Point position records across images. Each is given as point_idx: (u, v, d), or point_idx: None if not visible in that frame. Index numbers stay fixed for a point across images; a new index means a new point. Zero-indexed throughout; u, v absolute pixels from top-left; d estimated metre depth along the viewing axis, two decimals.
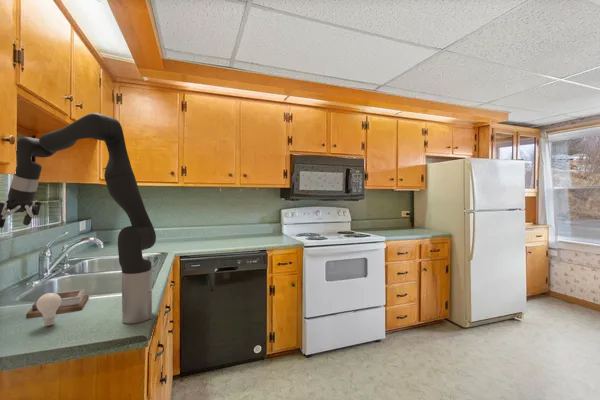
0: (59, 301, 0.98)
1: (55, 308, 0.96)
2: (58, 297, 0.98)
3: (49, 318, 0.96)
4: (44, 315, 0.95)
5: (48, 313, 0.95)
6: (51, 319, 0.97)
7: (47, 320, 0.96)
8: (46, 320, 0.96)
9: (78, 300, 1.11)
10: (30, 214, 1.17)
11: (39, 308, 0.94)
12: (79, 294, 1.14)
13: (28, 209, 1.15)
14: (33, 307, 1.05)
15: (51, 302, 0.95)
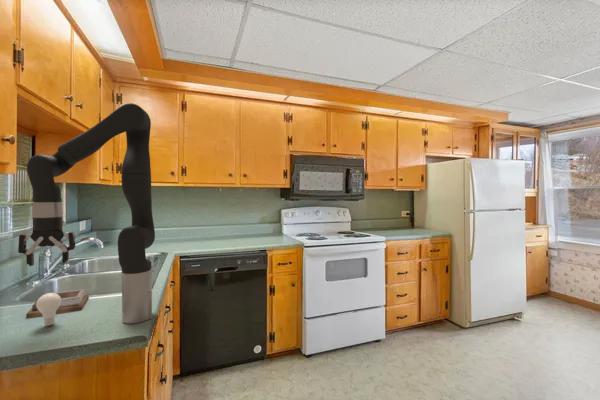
0: (59, 301, 0.98)
1: (55, 308, 0.96)
2: (58, 297, 0.98)
3: (49, 318, 0.96)
4: (44, 315, 0.95)
5: (48, 313, 0.95)
6: (51, 319, 0.97)
7: (47, 320, 0.96)
8: (46, 320, 0.96)
9: (78, 300, 1.11)
10: (62, 248, 0.97)
11: (39, 308, 0.94)
12: (79, 294, 1.14)
13: (56, 242, 0.96)
14: (33, 307, 1.05)
15: (51, 302, 0.95)
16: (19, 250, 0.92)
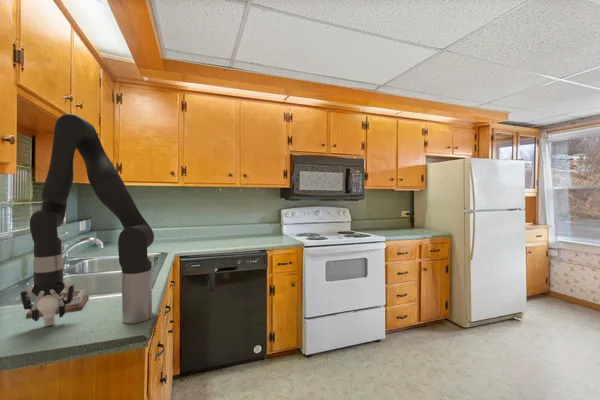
0: None
1: (55, 308, 0.96)
2: None
3: (49, 318, 0.96)
4: (44, 315, 0.95)
5: (48, 313, 0.95)
6: (51, 319, 0.97)
7: (47, 320, 0.96)
8: (46, 320, 0.96)
9: (78, 300, 1.11)
10: (59, 303, 0.97)
11: (39, 308, 0.94)
12: (79, 294, 1.14)
13: (55, 295, 0.96)
14: None
15: (51, 302, 0.95)
16: (24, 307, 0.93)
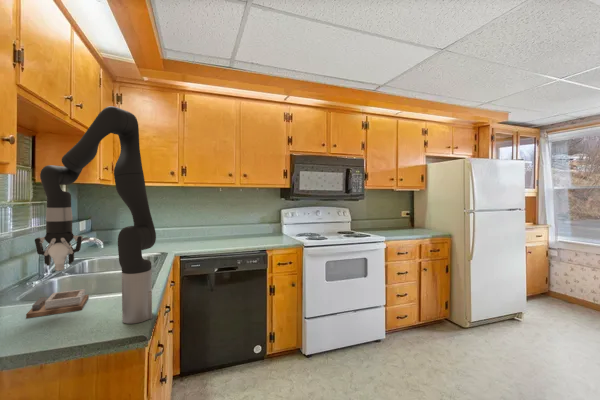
0: None
1: (65, 255, 1.08)
2: None
3: (60, 263, 1.07)
4: (55, 260, 1.06)
5: (59, 259, 1.07)
6: (61, 265, 1.08)
7: (58, 265, 1.07)
8: (57, 265, 1.07)
9: (78, 300, 1.11)
10: (69, 250, 1.09)
11: (51, 253, 1.05)
12: (79, 294, 1.14)
13: (65, 243, 1.08)
14: (33, 307, 1.05)
15: (62, 249, 1.06)
16: (38, 252, 1.04)
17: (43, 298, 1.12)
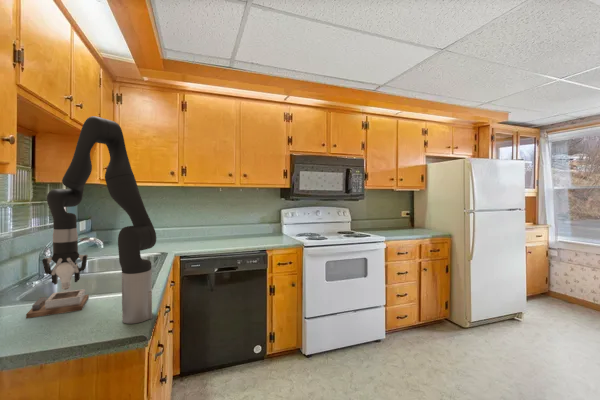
0: None
1: (71, 274, 1.13)
2: None
3: (66, 282, 1.12)
4: (62, 279, 1.11)
5: (65, 278, 1.12)
6: (67, 283, 1.13)
7: (64, 284, 1.12)
8: (63, 284, 1.12)
9: (78, 300, 1.11)
10: None
11: (58, 273, 1.10)
12: (79, 294, 1.14)
13: (71, 263, 1.13)
14: (33, 307, 1.05)
15: (68, 268, 1.11)
16: (45, 271, 1.09)
17: (43, 298, 1.12)
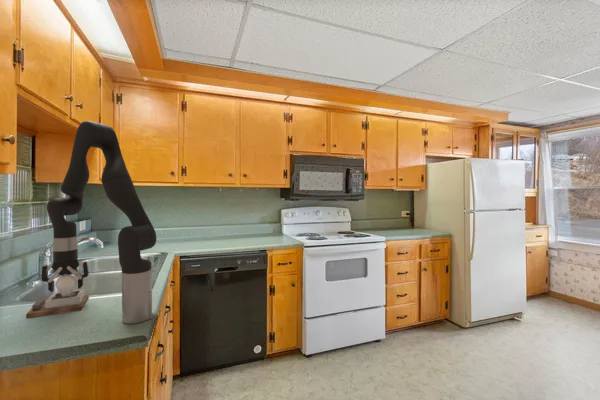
0: (75, 281, 1.14)
1: (71, 287, 1.12)
2: (74, 278, 1.14)
3: (67, 296, 1.12)
4: (62, 293, 1.11)
5: (66, 292, 1.11)
6: (68, 297, 1.13)
7: None
8: None
9: (78, 300, 1.11)
10: (78, 276, 1.14)
11: (58, 287, 1.10)
12: (79, 294, 1.14)
13: (72, 271, 1.13)
14: (33, 307, 1.05)
15: (69, 282, 1.11)
16: (42, 279, 1.09)
17: (43, 298, 1.12)
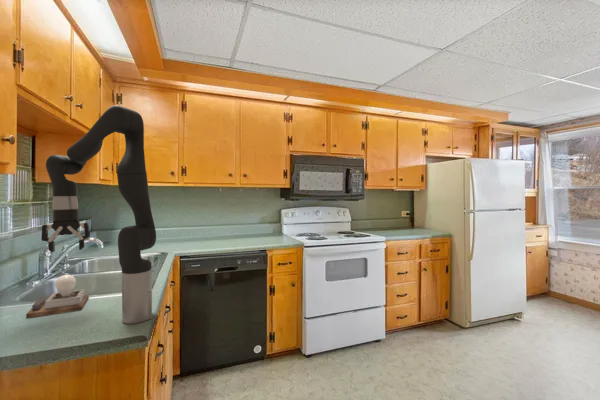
0: (74, 281, 1.14)
1: (71, 287, 1.13)
2: (73, 278, 1.14)
3: (66, 296, 1.12)
4: (62, 293, 1.11)
5: (65, 291, 1.12)
6: (68, 297, 1.13)
7: None
8: None
9: (78, 300, 1.11)
10: (79, 237, 1.11)
11: (58, 287, 1.10)
12: (79, 294, 1.14)
13: (73, 231, 1.10)
14: (33, 307, 1.05)
15: (68, 282, 1.11)
16: (42, 238, 1.06)
17: (43, 298, 1.12)
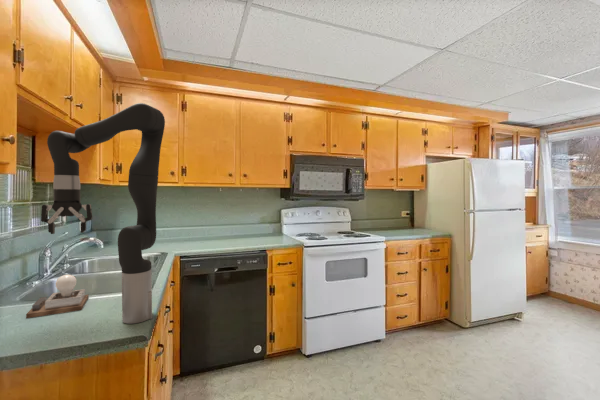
0: (75, 281, 1.14)
1: (71, 287, 1.13)
2: (74, 278, 1.14)
3: (67, 296, 1.12)
4: (62, 293, 1.11)
5: (66, 291, 1.12)
6: (68, 297, 1.13)
7: (65, 297, 1.12)
8: (64, 297, 1.12)
9: (78, 300, 1.11)
10: (81, 219, 1.05)
11: (58, 287, 1.10)
12: (79, 294, 1.14)
13: (75, 212, 1.04)
14: (33, 307, 1.05)
15: (69, 282, 1.11)
16: (42, 219, 1.00)
17: (43, 298, 1.12)
